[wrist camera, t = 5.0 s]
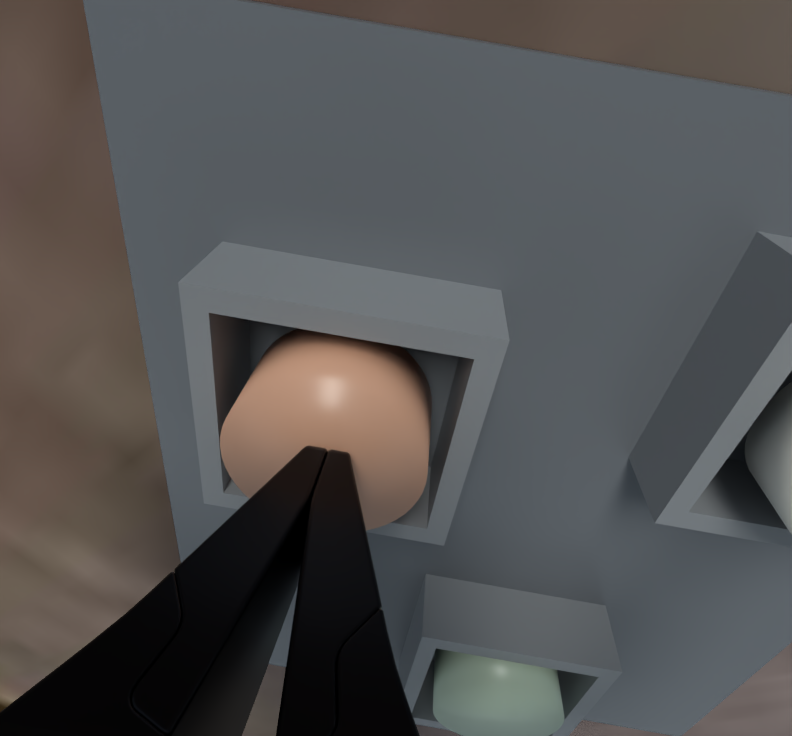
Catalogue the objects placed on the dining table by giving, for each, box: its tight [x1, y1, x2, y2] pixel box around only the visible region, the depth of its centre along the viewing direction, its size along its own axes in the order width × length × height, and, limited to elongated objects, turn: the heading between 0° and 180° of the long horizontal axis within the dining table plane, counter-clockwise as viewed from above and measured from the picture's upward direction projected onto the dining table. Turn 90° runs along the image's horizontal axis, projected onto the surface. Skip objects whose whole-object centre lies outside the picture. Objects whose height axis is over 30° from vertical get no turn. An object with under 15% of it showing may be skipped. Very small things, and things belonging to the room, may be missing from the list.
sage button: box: [433, 648, 564, 736], centre depth 16 cm, size 4×4×2 cm
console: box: [83, 0, 792, 736], centre depth 14 cm, size 20×22×4 cm
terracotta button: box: [220, 328, 432, 530], centre depth 10 cm, size 4×4×2 cm
